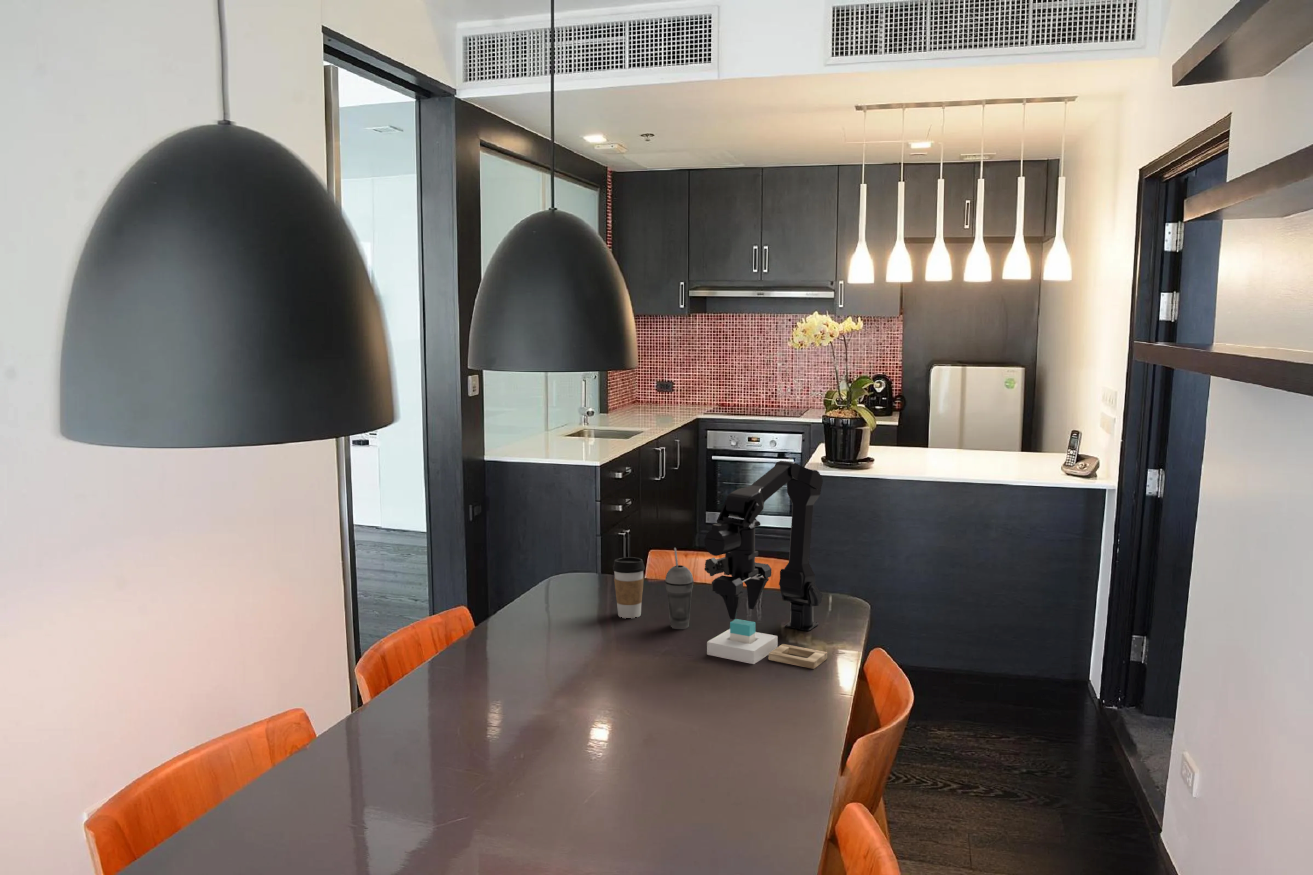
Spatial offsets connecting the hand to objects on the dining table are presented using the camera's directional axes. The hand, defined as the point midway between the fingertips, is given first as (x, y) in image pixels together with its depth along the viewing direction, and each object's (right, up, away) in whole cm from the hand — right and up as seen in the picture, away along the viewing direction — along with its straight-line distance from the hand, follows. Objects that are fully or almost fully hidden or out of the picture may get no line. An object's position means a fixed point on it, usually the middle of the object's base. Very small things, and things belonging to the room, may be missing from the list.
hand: (742, 613), depth 216 cm
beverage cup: (-14, -7, +20) cm, 25 cm away
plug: (0, -9, +1) cm, 9 cm away
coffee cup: (-27, -6, +29) cm, 40 cm away
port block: (0, -9, +1) cm, 9 cm away
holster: (+12, -9, -4) cm, 16 cm away
